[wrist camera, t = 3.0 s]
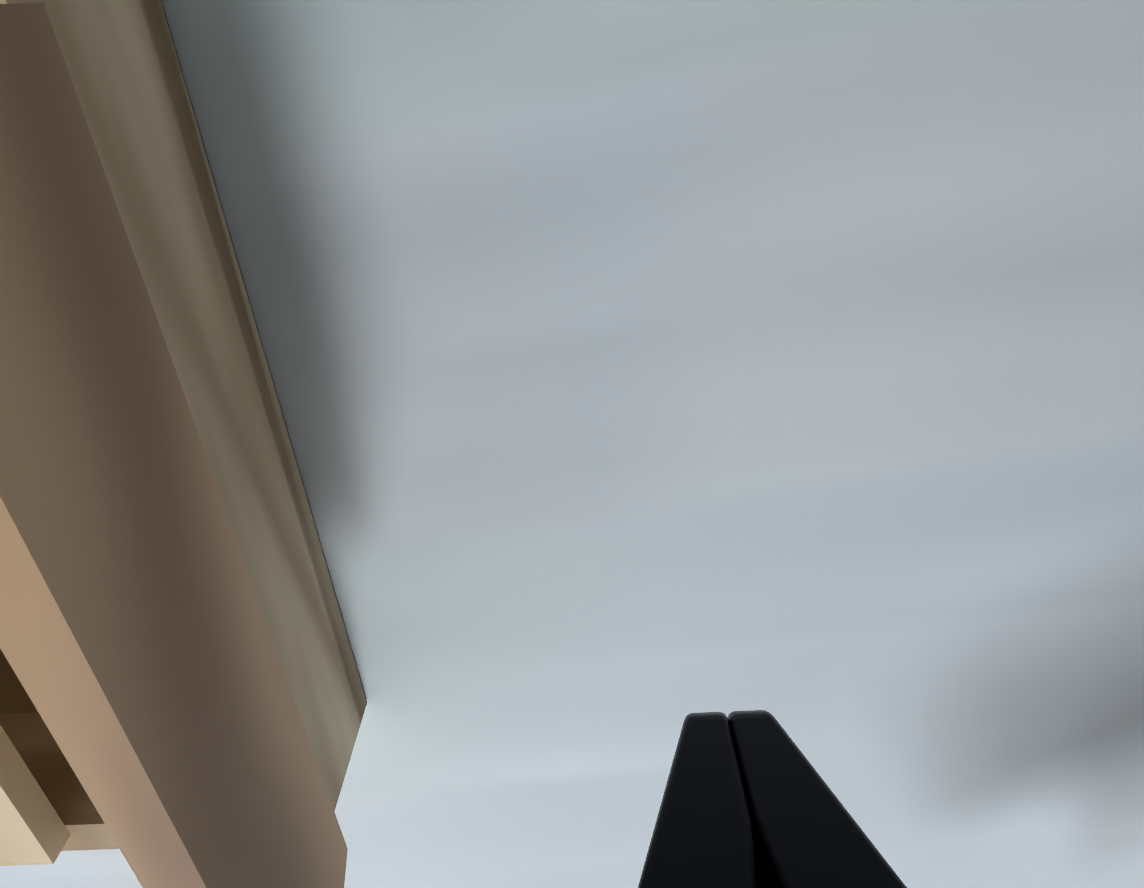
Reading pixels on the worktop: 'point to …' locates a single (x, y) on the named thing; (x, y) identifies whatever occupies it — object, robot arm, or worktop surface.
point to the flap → (129, 534)
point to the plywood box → (216, 401)
